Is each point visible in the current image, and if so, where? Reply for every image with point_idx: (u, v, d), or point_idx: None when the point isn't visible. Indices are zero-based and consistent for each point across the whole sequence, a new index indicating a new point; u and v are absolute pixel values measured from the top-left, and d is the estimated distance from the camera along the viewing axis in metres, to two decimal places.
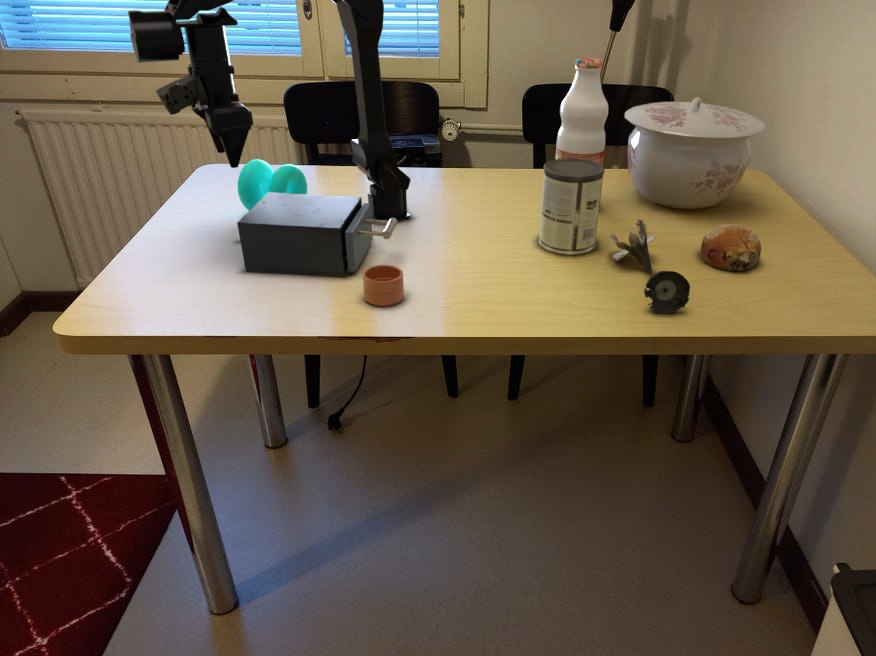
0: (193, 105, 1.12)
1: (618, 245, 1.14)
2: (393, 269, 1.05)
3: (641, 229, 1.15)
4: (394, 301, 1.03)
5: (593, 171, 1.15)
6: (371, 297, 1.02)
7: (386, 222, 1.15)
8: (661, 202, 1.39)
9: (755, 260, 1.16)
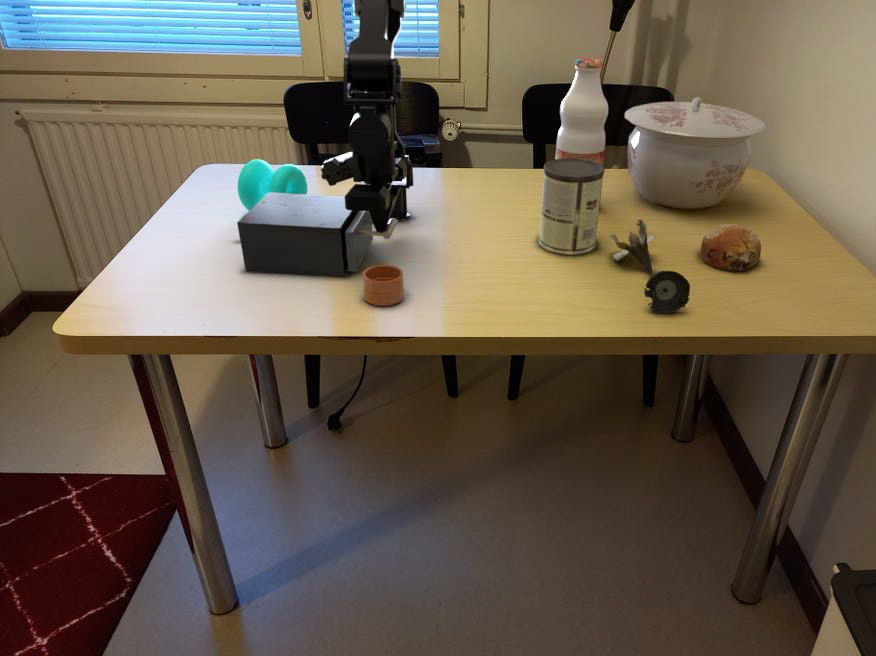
0: None
1: (618, 245, 1.14)
2: (393, 269, 1.05)
3: (641, 229, 1.15)
4: (394, 301, 1.03)
5: (593, 171, 1.15)
6: (371, 297, 1.02)
7: None
8: (661, 202, 1.39)
9: (755, 260, 1.16)
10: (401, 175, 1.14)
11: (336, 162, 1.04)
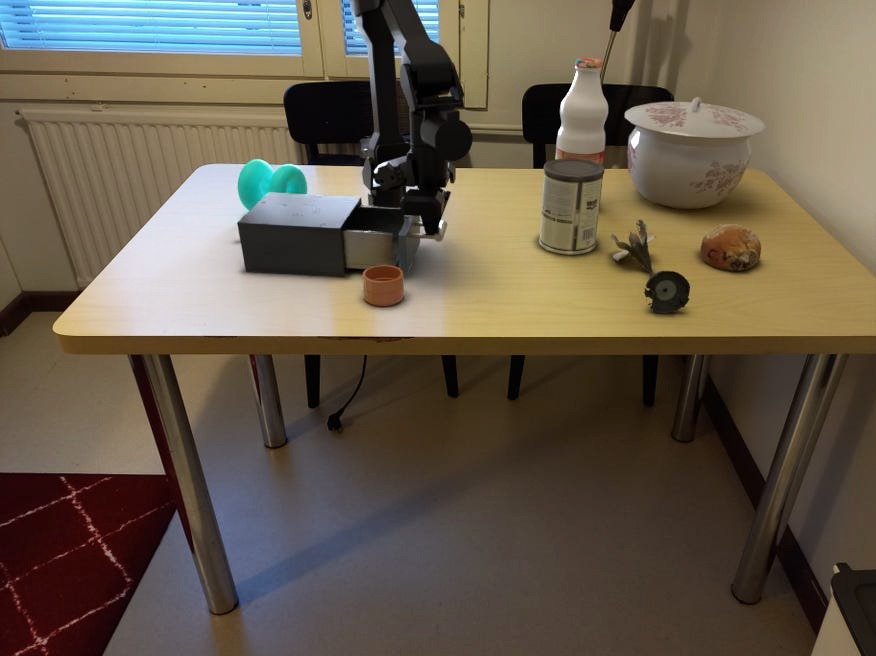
0: None
1: (618, 245, 1.14)
2: (393, 269, 1.05)
3: (641, 229, 1.15)
4: (394, 301, 1.03)
5: (593, 171, 1.15)
6: (371, 297, 1.02)
7: None
8: (661, 202, 1.39)
9: (755, 260, 1.16)
10: (451, 179, 1.13)
11: (390, 167, 1.04)
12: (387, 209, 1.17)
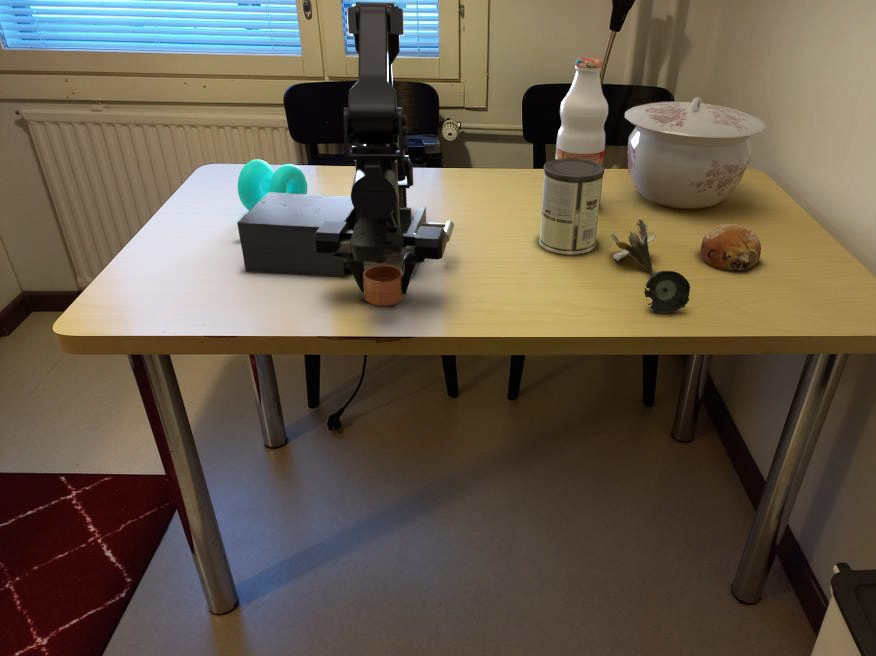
0: (336, 250, 0.98)
1: (618, 245, 1.14)
2: (393, 269, 1.05)
3: (641, 229, 1.15)
4: (394, 301, 1.03)
5: (593, 171, 1.15)
6: (371, 297, 1.02)
7: (443, 225, 1.14)
8: (661, 202, 1.39)
9: (755, 260, 1.16)
10: None
11: None
12: None
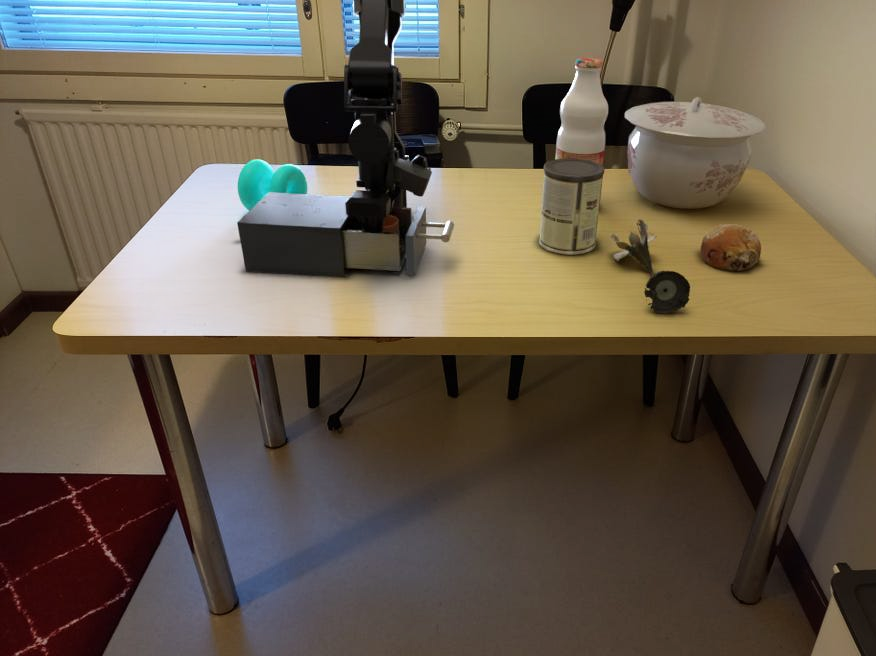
0: None
1: (619, 245, 1.14)
2: None
3: (642, 229, 1.15)
4: None
5: (593, 171, 1.15)
6: None
7: (443, 225, 1.14)
8: (661, 202, 1.39)
9: (755, 260, 1.16)
10: None
11: (414, 158, 1.10)
12: (393, 209, 1.17)
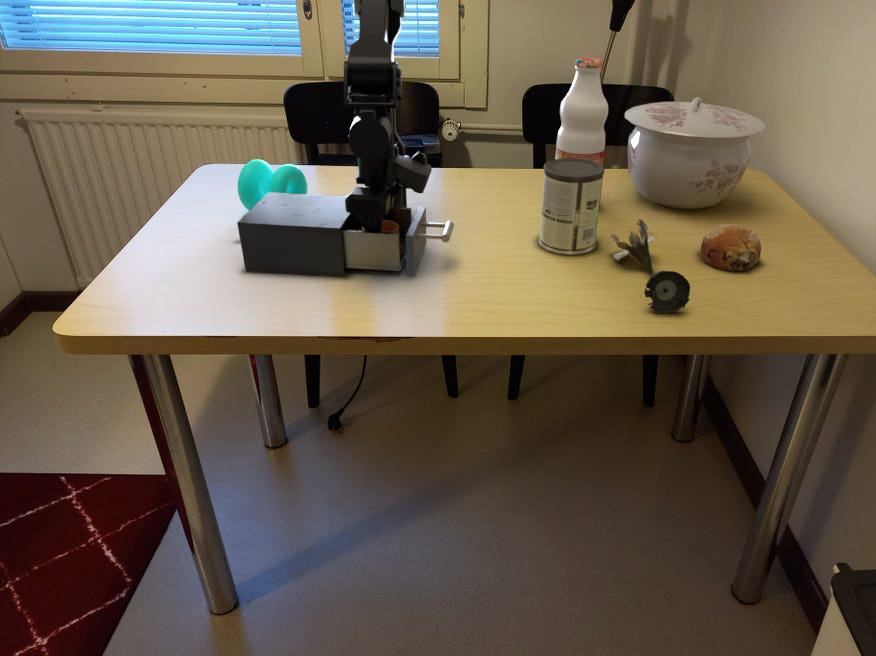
0: None
1: (619, 245, 1.14)
2: None
3: (642, 229, 1.15)
4: None
5: (593, 171, 1.15)
6: None
7: (443, 225, 1.14)
8: (661, 202, 1.39)
9: (755, 260, 1.16)
10: None
11: (414, 155, 1.10)
12: (393, 209, 1.17)
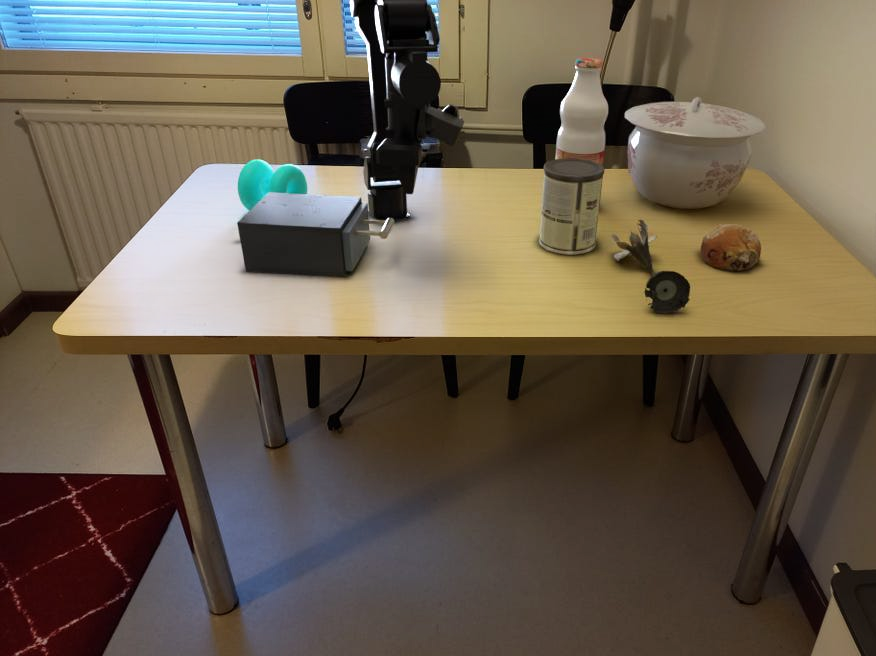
0: (420, 156, 1.00)
1: (619, 245, 1.14)
2: None
3: (642, 229, 1.15)
4: None
5: (593, 171, 1.15)
6: None
7: (383, 222, 1.15)
8: (661, 202, 1.39)
9: (755, 260, 1.16)
10: None
11: (445, 108, 1.05)
12: None
